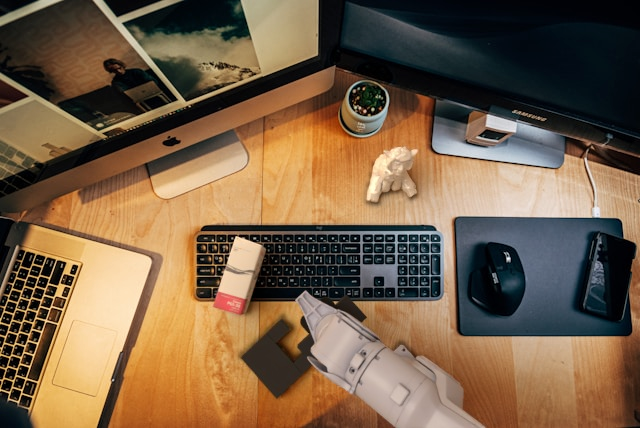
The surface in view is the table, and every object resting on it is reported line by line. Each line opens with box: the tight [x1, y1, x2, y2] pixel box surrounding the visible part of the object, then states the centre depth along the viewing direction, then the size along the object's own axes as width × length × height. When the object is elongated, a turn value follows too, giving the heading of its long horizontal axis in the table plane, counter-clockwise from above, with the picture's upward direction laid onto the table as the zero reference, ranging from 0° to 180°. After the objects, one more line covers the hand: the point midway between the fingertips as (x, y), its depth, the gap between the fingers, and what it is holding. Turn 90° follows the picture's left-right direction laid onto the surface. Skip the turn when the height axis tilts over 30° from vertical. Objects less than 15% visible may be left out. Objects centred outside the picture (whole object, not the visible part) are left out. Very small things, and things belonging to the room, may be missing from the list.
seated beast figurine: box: [365, 146, 419, 203], centre depth 76 cm, size 10×9×12 cm
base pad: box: [240, 318, 313, 400], centre depth 75 cm, size 9×9×3 cm
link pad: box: [297, 294, 368, 361], centre depth 69 cm, size 5×11×3 cm, turn 133°
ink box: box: [212, 236, 267, 316], centre depth 74 cm, size 9×5×12 cm
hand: (331, 328), depth 69 cm, fingers closed on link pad, 4 cm apart
